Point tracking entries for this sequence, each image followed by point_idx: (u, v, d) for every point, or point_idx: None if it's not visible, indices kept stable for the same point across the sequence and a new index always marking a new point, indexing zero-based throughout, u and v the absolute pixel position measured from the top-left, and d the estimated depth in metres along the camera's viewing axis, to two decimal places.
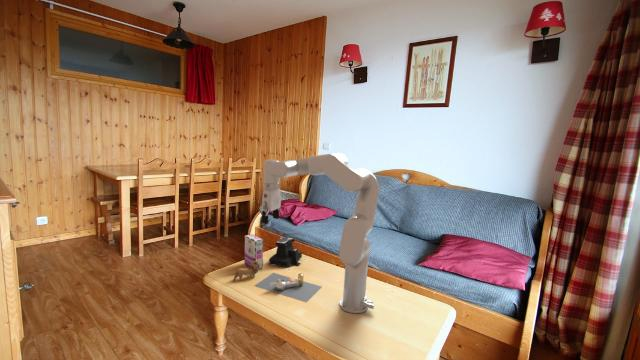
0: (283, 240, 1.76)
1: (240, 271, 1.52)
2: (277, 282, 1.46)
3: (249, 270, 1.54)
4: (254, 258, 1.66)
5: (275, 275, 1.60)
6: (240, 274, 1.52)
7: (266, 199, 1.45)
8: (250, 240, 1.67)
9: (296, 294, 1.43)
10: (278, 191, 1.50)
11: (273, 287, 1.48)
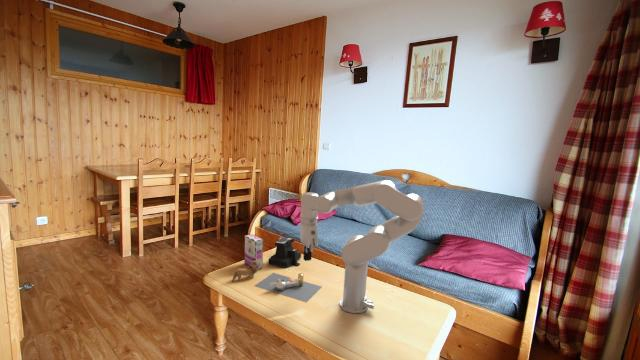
0: (282, 240, 1.76)
1: (239, 272, 1.52)
2: (277, 282, 1.46)
3: (247, 270, 1.54)
4: (254, 258, 1.66)
5: (275, 275, 1.60)
6: (239, 274, 1.52)
7: (314, 236, 1.36)
8: (250, 240, 1.67)
9: (296, 294, 1.43)
10: None
11: (273, 287, 1.48)
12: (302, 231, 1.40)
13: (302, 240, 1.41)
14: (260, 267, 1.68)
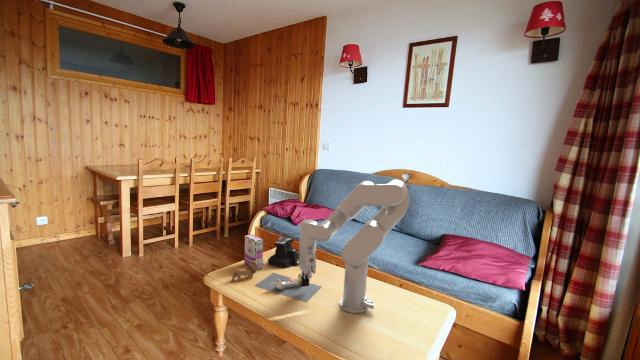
0: (282, 240, 1.75)
1: (238, 272, 1.52)
2: (277, 282, 1.46)
3: (247, 270, 1.54)
4: (254, 258, 1.66)
5: (275, 275, 1.60)
6: (238, 274, 1.52)
7: (312, 263, 1.38)
8: (250, 240, 1.67)
9: (296, 294, 1.43)
10: None
11: (273, 287, 1.48)
12: (300, 257, 1.42)
13: (300, 266, 1.43)
14: (260, 267, 1.68)
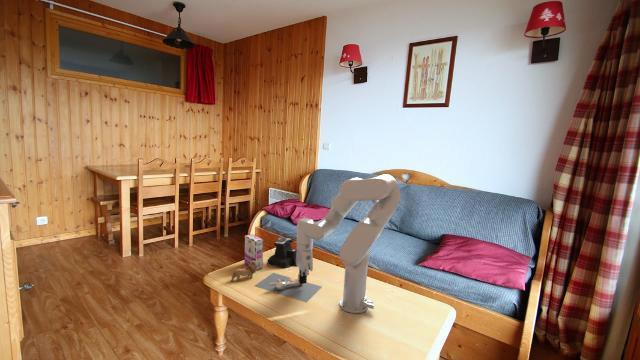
0: (282, 240, 1.75)
1: (238, 272, 1.51)
2: (277, 282, 1.46)
3: (246, 270, 1.53)
4: (254, 258, 1.66)
5: (275, 275, 1.60)
6: (238, 275, 1.51)
7: (309, 261, 1.41)
8: (250, 240, 1.67)
9: (296, 294, 1.43)
10: None
11: (273, 287, 1.48)
12: (298, 255, 1.45)
13: (298, 264, 1.46)
14: (260, 267, 1.68)
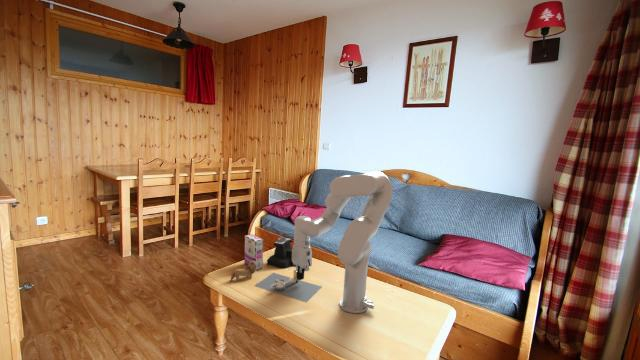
0: (281, 241, 1.75)
1: (237, 272, 1.51)
2: (277, 283, 1.45)
3: (245, 270, 1.53)
4: (254, 258, 1.66)
5: (275, 275, 1.60)
6: (237, 275, 1.51)
7: (309, 256, 1.46)
8: (250, 240, 1.67)
9: (296, 294, 1.43)
10: None
11: None
12: (296, 253, 1.48)
13: (295, 261, 1.49)
14: (260, 267, 1.68)
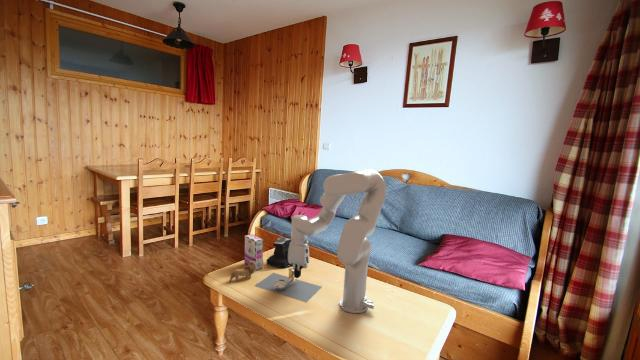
0: (281, 241, 1.75)
1: (236, 272, 1.51)
2: (278, 283, 1.45)
3: (245, 270, 1.53)
4: (254, 258, 1.66)
5: (275, 275, 1.60)
6: (236, 275, 1.51)
7: (307, 254, 1.50)
8: (250, 240, 1.67)
9: (296, 294, 1.43)
10: None
11: None
12: (293, 252, 1.50)
13: (293, 260, 1.51)
14: (260, 267, 1.68)
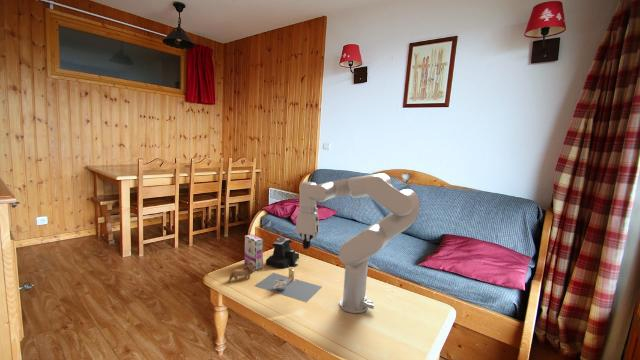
0: (280, 241, 1.74)
1: (235, 272, 1.51)
2: (278, 283, 1.45)
3: (244, 271, 1.53)
4: (254, 258, 1.66)
5: (275, 275, 1.60)
6: (235, 275, 1.51)
7: (317, 222, 1.42)
8: (250, 240, 1.67)
9: (296, 294, 1.43)
10: None
11: None
12: (302, 221, 1.41)
13: (302, 230, 1.42)
14: (260, 267, 1.68)
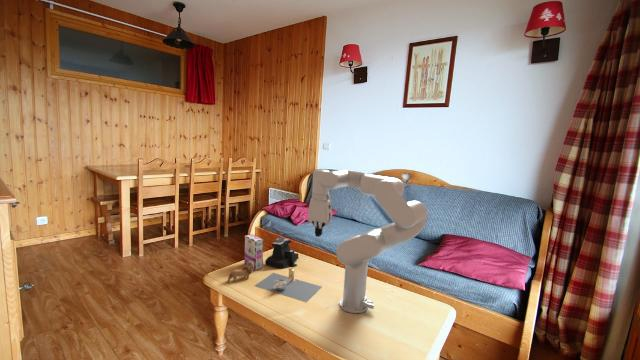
0: (279, 241, 1.74)
1: (234, 273, 1.50)
2: (278, 283, 1.45)
3: (243, 271, 1.53)
4: (254, 258, 1.66)
5: (275, 275, 1.60)
6: (234, 275, 1.50)
7: (330, 210, 1.41)
8: (250, 240, 1.67)
9: (296, 294, 1.43)
10: None
11: None
12: (315, 208, 1.41)
13: (314, 217, 1.42)
14: (260, 267, 1.68)
